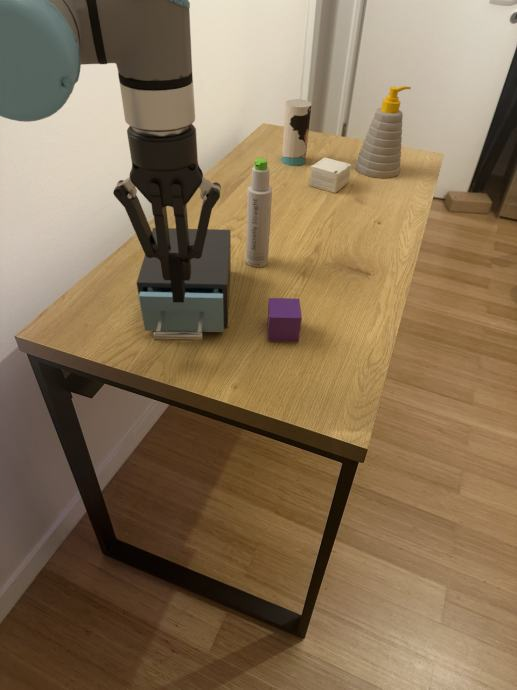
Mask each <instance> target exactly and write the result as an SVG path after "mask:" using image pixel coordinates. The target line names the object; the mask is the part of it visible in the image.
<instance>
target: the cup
mask: <svg viewBox="0 0 517 690" xmlns="http://www.w3.org/2000/svg"><path fill="white" fill-rule="evenodd" d="M312 105H313V104H312V102H311V101H308V100H306V99H299V98H298V99H297V98H296V99H295V98H294V99H288V100H286V101H285V110H284V121H283V122H284V124H283V137H282V148H281V149H282V150H281V162H282V163H283V164H284V165H287V166H291V167H293V166H294V167H297V166H302V165H304V164H306V160H307V151H308V143H309V142H308V141H309V132H310V123H311V115H312Z"/></svg>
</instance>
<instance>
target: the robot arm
mask: <svg viewBox="0 0 517 690" xmlns="http://www.w3.org/2000/svg"><path fill="white" fill-rule="evenodd" d="M190 8H191V3H190V1H189V0H0V117H1V118H3V119H7V120H11V121H16V122H26V123H27V122H28V123H29V122H37V121H41V120H44V119H47V118H49V117H51V116H54V115H55V114H56V113H58V112H59V111H60V110H61V109H62V108H63V107H64V105H65V104H66V103H67V102H68V100H69V98H70V96H71V94H72V93H73V91H74V89H75V85H76V84H77V83H78V82H79V79H80V73H81V67H82V65H107V64H115V65H116V68H117V75H118V82H119V88H120V95H121V103H122V109H123V110H122V111H123V115H124V122H125V123H126V124H127V125H128V128H127V129H126V135H127V141H128V147H129V154H130V159H131V169H130V172H129V177H127V178H125V179H120V180H118V182H117V183H116V185H115V187H114V189H113V196H114V197H115V198H116V200H117V201H118V202H119V203H120V204H121V205H122V206H123V207H124V209H125V211H126V214H127V216H128V218H129V221H130V223H131V225H132V228H133V230H134V232H135V235H136V237H137V239H138V242H139V244H140V246H141V248H142V251H143V254H144V256H145V255H146V257H148V258H153V257H155V258H158V259H159V260H160V262H161V268H162V276H163V279H164V280H171V288H172V296H173V302H178V303H184V298H185V292H186V291H185V280H190V277H191V262H190V260H191V259H193V258H196V259H199V258H201V256H202V252H203V247H204V243H205V238H206V234H207V229H209V225H210V220H211V216H212V210H213V208H214V207H215V205H216V204H217V202H218V201H219V200H220V198H221V190H222V186H221V184H220V183H219V182H217V181H214V182H211V181H209V180H208V179H206V178H205V177H204V173H203V171H202V169H201V167H200V165H199V158H198V157H199V156H198V141H197V139H198V138H197V129H196V126H195V125H194V124H193V123H194V122H196V121H195V120H196V107H195V106H196V105H195V92H194V91H195V89H194V79H193V61H192V59H193V58H192V39H191V36H192V35H191V17H190ZM198 189H199V190H200V199H201V200H202V204H201V209H200V214H199V219H198V222H197V223H198V224H197V227H196V229H197V233H196V238H195V242H194V244H193V245H190V243H189V231H188V229H189V221H188V208H187V207H188V206H187V205H188V203H189V202H190V201H191V200H192V199H193V197H194V195H195V193H196V192H197V191H198ZM138 192H140V194H141V195H142V196H143V197H144V198H145V199H146V201H147V202H149V204H151V212H152V215H153V221H154V228H155V229H156V236H157V243H156V241H155V238H154V236H153V233H152V229H151V226H150V224H149V221H148V219H147V216H146V214H145V211H144V209H143V207H142V204H141V202H140V199H139V197H138V195H137V194H138ZM167 207H171V208H172V209H173V216H174V222H175V223H174V224H175V228H176V233H177V242H178V252H179V253H170V251H171V246H170V237H169V220H168V209H167Z"/></svg>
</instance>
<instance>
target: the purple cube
mask: <svg viewBox="0 0 517 690" xmlns="http://www.w3.org/2000/svg"><path fill="white" fill-rule="evenodd" d="M267 303H268V304H267V318H266V327H267V341H268V342H300V341H299V340H300V334H301V327H302V320H303V317H302V309H301V301H300V298H297V297H296V298H295V297H293V298H292V297H291V298H289V297H287V298H286V297H269V298H268V301H267Z"/></svg>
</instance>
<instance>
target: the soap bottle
mask: <svg viewBox="0 0 517 690" xmlns="http://www.w3.org/2000/svg"><path fill="white" fill-rule="evenodd" d="M411 89H412V87H411V86H406V85H403V86H398V87H397V86H389V92H388V95H386V97H385V98H383V99H382V101H381V102H382V103H381V107H379V108H377V109H376V110H375V112H374V115H373V117H372V120H371V123H370V125H369V127H368V131H367V133H366V135H365V138H364V139H363V143H362V145H361V147H360V151H359V153H358V155H357V158H356V161H355V163H354V168H355V170H356V171H357V172H358V173H359V174H360V175H363V176H366V177H369V178H370V177H371V178H375V179H391V178H394V177H397V176H398V175H399V174H400V172H401V162H402V161H401V160H402V159H401V157H402V138H403V137H402V135H403V116H404V115H403V112H402V110H400V107H401V100H399V96H398V93H399V92H403V91H404V90H411Z"/></svg>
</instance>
